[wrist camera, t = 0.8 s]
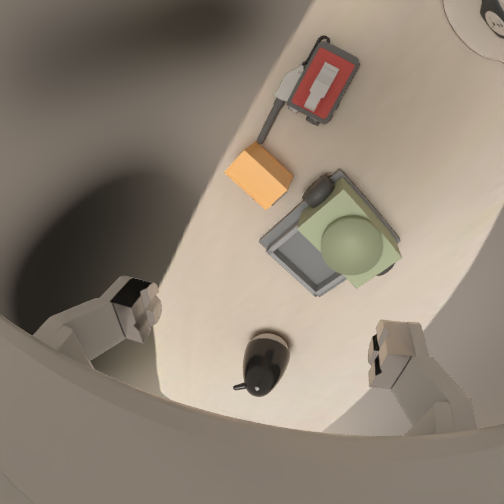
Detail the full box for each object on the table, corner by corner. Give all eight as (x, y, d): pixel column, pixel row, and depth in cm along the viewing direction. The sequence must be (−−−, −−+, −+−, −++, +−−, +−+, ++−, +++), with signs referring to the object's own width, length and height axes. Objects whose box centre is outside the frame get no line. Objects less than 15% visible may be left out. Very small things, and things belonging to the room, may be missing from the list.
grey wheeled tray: (335, 163, 41) (336, 179, 34) (402, 242, 45) (412, 270, 38) (255, 235, 52) (242, 261, 44) (322, 296, 55) (319, 328, 48)
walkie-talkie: (310, 30, 31) (254, 139, 43) (308, 24, 28) (247, 144, 39) (364, 57, 32) (304, 165, 43) (368, 54, 28) (301, 172, 39)
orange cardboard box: (256, 141, 43) (244, 150, 37) (294, 177, 44) (289, 191, 38) (238, 160, 45) (224, 172, 39) (276, 195, 47) (267, 211, 41)
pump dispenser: (244, 326, 65) (223, 379, 52) (288, 326, 61) (275, 382, 49) (255, 354, 70) (238, 404, 57) (295, 354, 66) (284, 408, 54)
